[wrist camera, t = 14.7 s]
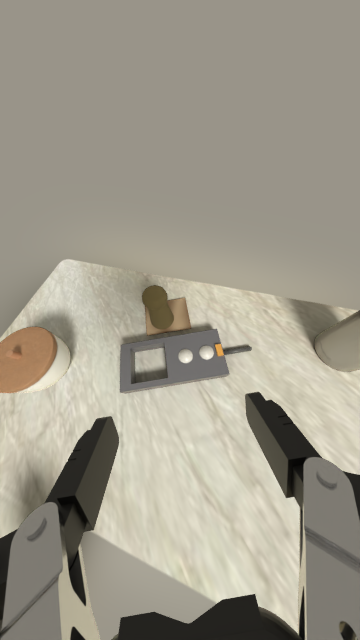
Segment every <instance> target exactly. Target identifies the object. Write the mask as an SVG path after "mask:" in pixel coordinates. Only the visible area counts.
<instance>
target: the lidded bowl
mask: <svg viewBox="0 0 360 640" xmlns="http://www.w3.org/2000/svg"><path fill="white" fill-rule="evenodd" d="M69 364H70V352H69V349H68V347H67V345H66V344H65V343H64V342H63V341H62V340H61V339H60V338H58V337H57V336H55V335H54V334H52V333H51V332H49V331H48V330H46V329H44V328H41V327H27V328H24V329H21V330H18V331H16V332H14V333H12V334H11V335H9V336H8V337H6V338H5V339H4V340H3V341H2V342H1V343H0V393H30V392H36V391H40V390H43V389H46V388H48V387H50V386H52V385H53V384H55V383H56V382H58V381H59V380H60V379H61V378H62V377H63V376H64V375H65V373H66V372H67V370H68V368H69Z"/></svg>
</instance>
